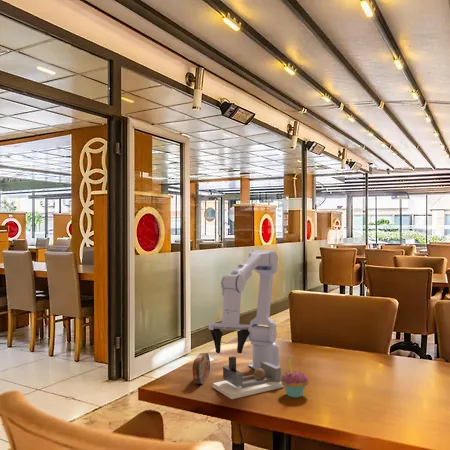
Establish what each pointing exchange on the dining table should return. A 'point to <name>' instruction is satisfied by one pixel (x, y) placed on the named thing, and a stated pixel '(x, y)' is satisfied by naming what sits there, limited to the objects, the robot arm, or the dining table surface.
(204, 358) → the tin
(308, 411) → the dining table surface
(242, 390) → the board
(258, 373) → the nut
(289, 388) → the cupcake
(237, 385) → the sliding jaw
